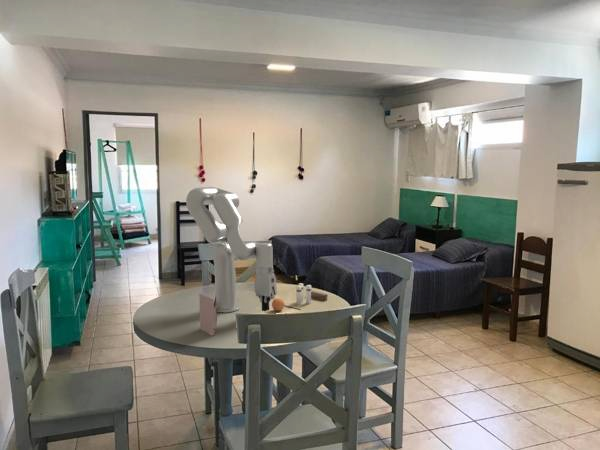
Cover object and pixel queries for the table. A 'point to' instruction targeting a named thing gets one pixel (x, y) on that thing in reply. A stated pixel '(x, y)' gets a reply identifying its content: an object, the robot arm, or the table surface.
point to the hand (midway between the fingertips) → (265, 310)
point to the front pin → (298, 295)
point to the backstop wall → (318, 296)
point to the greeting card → (208, 314)
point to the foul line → (292, 307)
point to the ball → (278, 304)
